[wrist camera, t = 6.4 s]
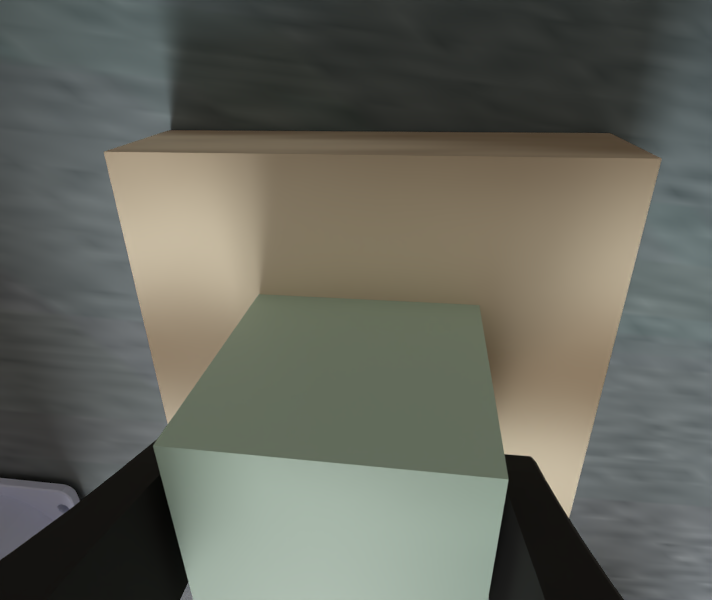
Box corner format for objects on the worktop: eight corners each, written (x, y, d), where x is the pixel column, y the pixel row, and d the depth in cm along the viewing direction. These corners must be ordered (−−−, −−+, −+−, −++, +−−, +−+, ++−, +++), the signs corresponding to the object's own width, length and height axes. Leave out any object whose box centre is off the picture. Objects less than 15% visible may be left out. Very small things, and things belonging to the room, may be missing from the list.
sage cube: (460, 471, 13) (473, 684, 9) (277, 454, 14) (204, 644, 10) (479, 304, 11) (508, 479, 7) (259, 293, 12) (153, 445, 7)
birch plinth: (539, 475, 17) (558, 555, 14) (224, 447, 18) (189, 515, 16) (610, 133, 12) (661, 158, 9) (169, 130, 13) (103, 151, 11)
